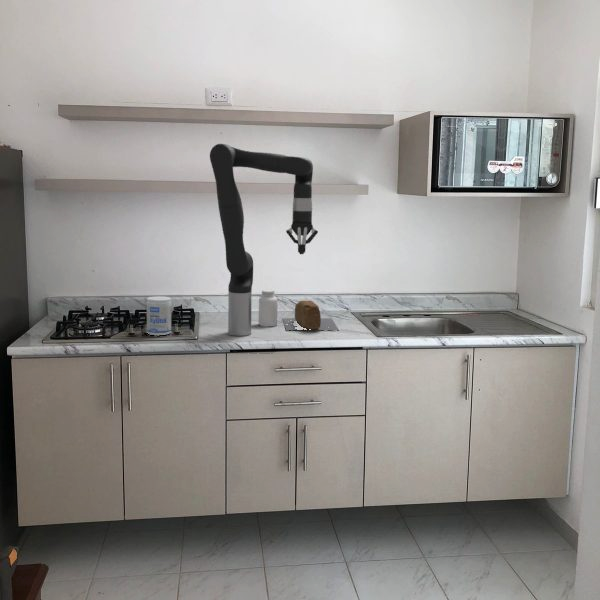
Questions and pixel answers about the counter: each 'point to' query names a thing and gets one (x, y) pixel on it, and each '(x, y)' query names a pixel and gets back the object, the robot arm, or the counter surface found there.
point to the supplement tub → (158, 315)
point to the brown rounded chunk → (308, 315)
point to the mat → (323, 326)
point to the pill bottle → (268, 309)
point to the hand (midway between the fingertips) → (301, 253)
